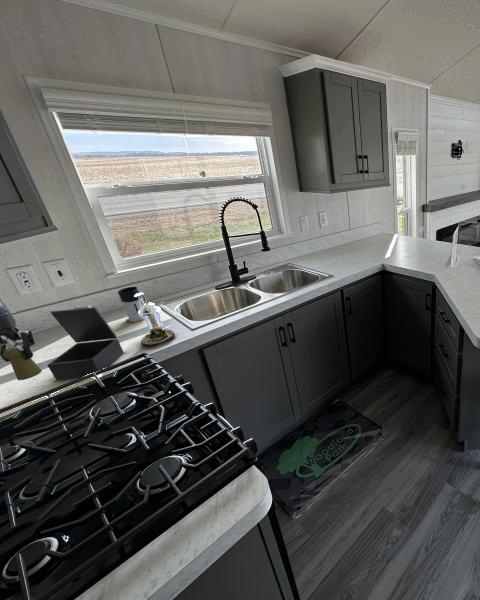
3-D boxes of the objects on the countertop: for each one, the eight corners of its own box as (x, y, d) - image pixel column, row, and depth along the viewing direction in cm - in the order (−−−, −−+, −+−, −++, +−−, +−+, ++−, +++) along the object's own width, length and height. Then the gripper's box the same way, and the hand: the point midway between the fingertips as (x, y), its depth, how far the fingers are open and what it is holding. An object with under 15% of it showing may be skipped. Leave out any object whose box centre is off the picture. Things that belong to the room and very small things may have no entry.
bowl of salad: (135, 348, 136) (128, 333, 133) (154, 333, 147) (148, 319, 144) (164, 347, 136) (158, 331, 133) (181, 332, 147) (175, 317, 144)
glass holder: (141, 312, 168) (130, 285, 161) (162, 315, 163) (151, 288, 157) (124, 320, 160) (111, 292, 154) (145, 323, 156) (132, 295, 149)
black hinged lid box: (100, 375, 121) (92, 359, 118) (56, 380, 119) (46, 365, 116) (124, 352, 134) (117, 338, 131) (84, 357, 132) (77, 343, 129)
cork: (43, 372, 114) (27, 345, 109) (19, 382, 109) (1, 354, 105) (39, 367, 117) (23, 341, 112) (15, 376, 112) (-3, 349, 108)
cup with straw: (173, 327, 151) (157, 288, 143) (153, 337, 144) (136, 296, 135) (160, 324, 154) (144, 285, 146) (141, 334, 147) (123, 294, 138)
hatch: (94, 308, 121) (101, 300, 125) (50, 312, 119) (59, 304, 123) (116, 338, 130) (122, 330, 134) (75, 342, 128) (83, 334, 132)
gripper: (-48, 322, 99) (-16, 368, 106) (6, 317, 101) (34, 363, 108) (-23, 312, 106) (6, 355, 113) (27, 307, 108) (52, 350, 115)
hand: (19, 359), depth 111 cm, fingers closed on cork, 5 cm apart
